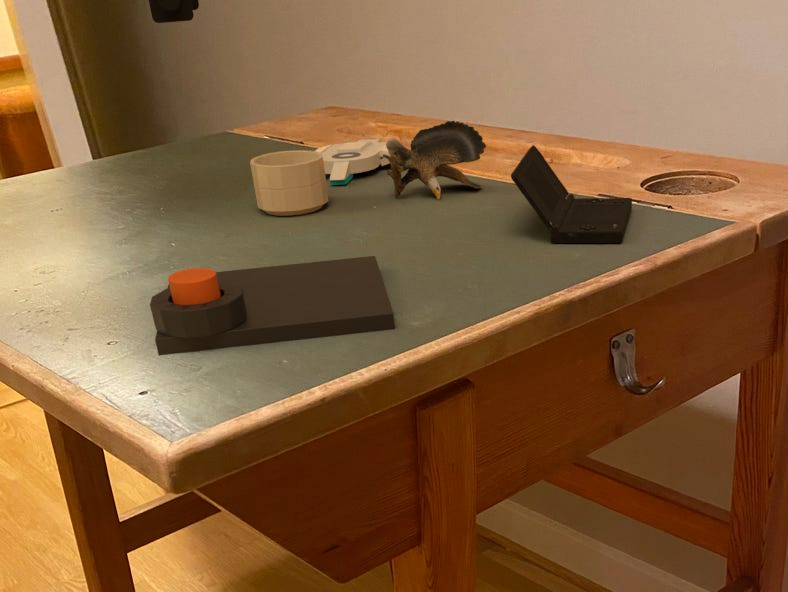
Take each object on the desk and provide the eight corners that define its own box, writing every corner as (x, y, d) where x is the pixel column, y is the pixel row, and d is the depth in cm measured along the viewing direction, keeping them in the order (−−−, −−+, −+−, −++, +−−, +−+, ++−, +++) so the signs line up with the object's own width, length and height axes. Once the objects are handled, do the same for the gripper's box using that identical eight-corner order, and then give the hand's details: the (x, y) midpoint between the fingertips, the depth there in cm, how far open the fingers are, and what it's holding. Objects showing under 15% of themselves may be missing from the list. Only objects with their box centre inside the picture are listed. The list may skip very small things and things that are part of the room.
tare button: (172, 311, 68) (165, 284, 66) (175, 296, 70) (169, 270, 69) (220, 305, 68) (215, 279, 67) (222, 291, 70) (216, 265, 69)
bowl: (258, 220, 96) (250, 169, 93) (258, 203, 101) (250, 154, 98) (330, 213, 96) (324, 162, 94) (327, 196, 102) (320, 147, 99)
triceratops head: (408, 198, 95) (496, 166, 96) (379, 123, 94) (467, 92, 95) (401, 226, 102) (482, 197, 103) (373, 157, 101) (455, 128, 103)
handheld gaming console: (648, 220, 82) (572, 114, 79) (578, 279, 85) (501, 180, 82) (636, 205, 93) (568, 111, 89) (574, 259, 95) (505, 169, 92)
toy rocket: (330, 153, 118) (327, 132, 117) (412, 151, 117) (410, 129, 116) (290, 187, 106) (287, 163, 104) (381, 185, 104) (379, 161, 103)
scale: (157, 359, 68) (146, 315, 66) (172, 292, 79) (163, 252, 78) (395, 333, 69) (391, 288, 68) (376, 270, 81) (372, 231, 79)
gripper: (87, -241, 81) (141, 10, 91) (53, -269, 67) (121, 30, 78) (183, -246, 82) (225, 4, 92) (168, -274, 68) (220, 22, 78)
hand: (177, 15), depth 85 cm, fingers open, 9 cm apart
